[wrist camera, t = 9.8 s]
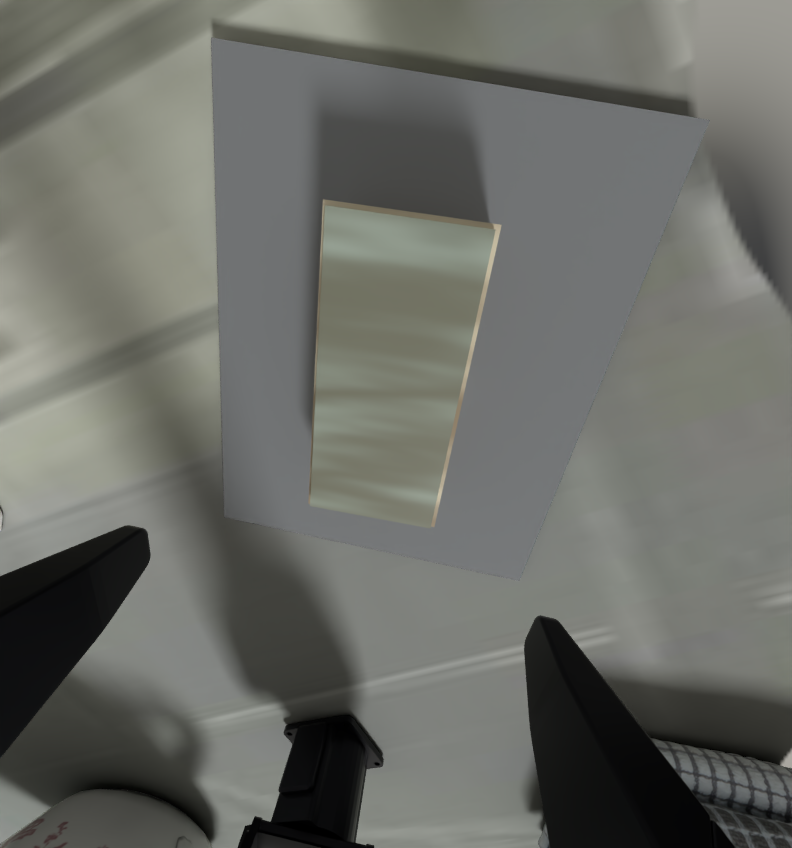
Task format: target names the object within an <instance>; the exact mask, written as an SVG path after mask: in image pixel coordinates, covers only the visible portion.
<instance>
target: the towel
mask: <svg viewBox="0 0 792 848" xmlns="http://www.w3.org/2000/svg"><path fill="white" fill-rule="evenodd" d="M650 739H651V740H652V741H653V742H654V744H655V745H656V746H657V747H658V749H659V750H660V751H661V753H662V754H663V755H664V756H665V758H666V759H667V760H668V762H669V763H670V764H671V765H672V767H673V768H674V769H675V770H676V772H677V773H678V774H679V776H680V777H681V778H682V779H683V781H684V782H685V783H686V785H687V786H688V787H689V788H690V790H691V791H692V792H693V794H694V795H695V796H696V797H697V799H698V800H699V801H700V802H701V804H702V805H703V806H704V808H705V809H706V810H707V811H708V813H709V814H710V818H711V820H714V821H715V822H716V823H717V824H718V825H719V826H720V828H721V829H722V830H723V832H724V833H725V834H726V835H727V837H728V838H729V839H730V841H731V842H732V843H733V844H734V846H735V847H736V848H792V768H787V767H783V766H778V765H777V764H774V763H771V762H765V761H759V760H757V759H755V758H752V757H742V756H740V755H737V754H732V753H725V752H720V751H715V750H708V749H704V748H695V747H692V746H688V745H682V744H676V743H674V742H669V741H660V740H657V739H653V738H650ZM538 845H539V846H540V848H550V846H549V840H548V834H547V828H546V823H545V825H544V828H543V832H542V835H541V837H540V838H539V840H538Z"/></svg>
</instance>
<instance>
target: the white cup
mask: <svg viewBox="0 0 792 848" xmlns="http://www.w3.org/2000/svg"><path fill="white" fill-rule="evenodd" d="M2 519H3V514H2V512H1V509H0V531H1V530H2Z"/></svg>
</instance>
